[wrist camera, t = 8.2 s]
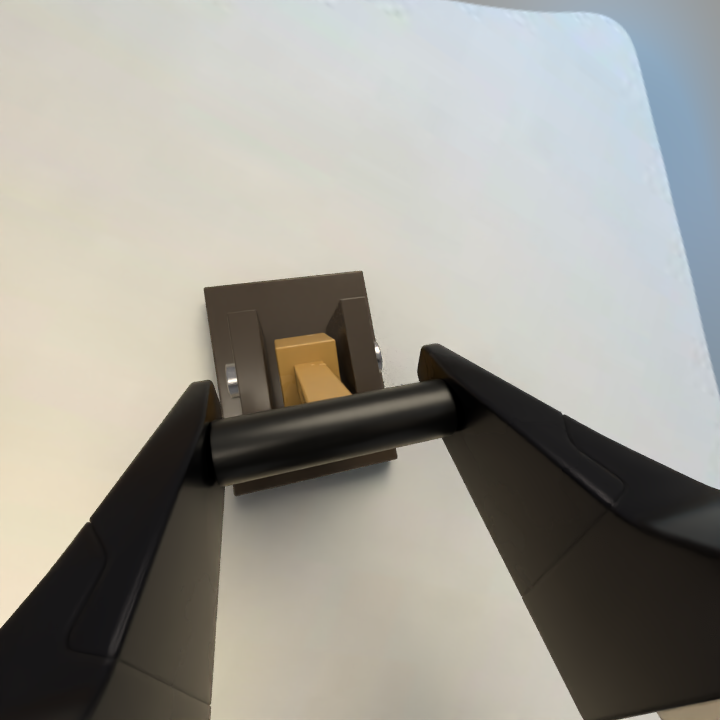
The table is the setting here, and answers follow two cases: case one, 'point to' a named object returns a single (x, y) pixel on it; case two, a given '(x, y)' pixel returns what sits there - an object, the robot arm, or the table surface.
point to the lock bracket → (284, 320)
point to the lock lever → (325, 418)
